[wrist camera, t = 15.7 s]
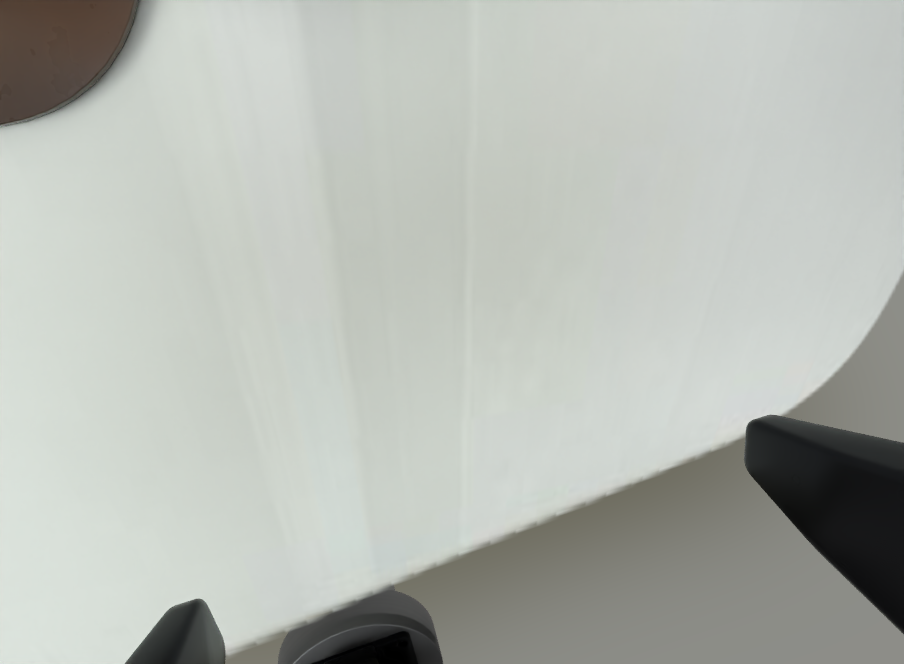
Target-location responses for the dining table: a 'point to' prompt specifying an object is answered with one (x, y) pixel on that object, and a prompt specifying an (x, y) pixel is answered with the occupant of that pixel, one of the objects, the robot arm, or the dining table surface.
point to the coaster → (56, 51)
